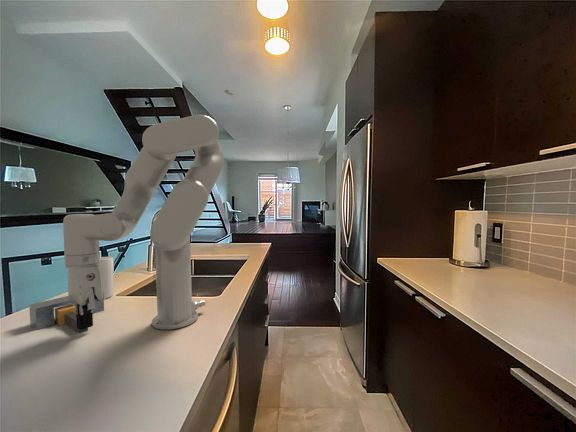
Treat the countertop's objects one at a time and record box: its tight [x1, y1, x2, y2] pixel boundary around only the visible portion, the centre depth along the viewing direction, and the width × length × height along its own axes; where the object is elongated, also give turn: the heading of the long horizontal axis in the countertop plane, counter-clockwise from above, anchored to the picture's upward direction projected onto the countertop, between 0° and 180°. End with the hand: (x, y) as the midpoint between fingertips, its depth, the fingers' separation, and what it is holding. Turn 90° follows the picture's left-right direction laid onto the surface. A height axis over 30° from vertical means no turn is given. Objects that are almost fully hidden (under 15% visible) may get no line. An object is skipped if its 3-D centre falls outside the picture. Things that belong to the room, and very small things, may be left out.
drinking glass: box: [99, 256, 115, 300], centre depth 105 cm, size 7×7×15 cm
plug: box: [54, 304, 89, 334], centre depth 80 cm, size 4×17×4 cm, turn 55°
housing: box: [28, 292, 105, 331], centre depth 86 cm, size 17×6×6 cm, turn 145°
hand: (85, 327), depth 75 cm, fingers closed
